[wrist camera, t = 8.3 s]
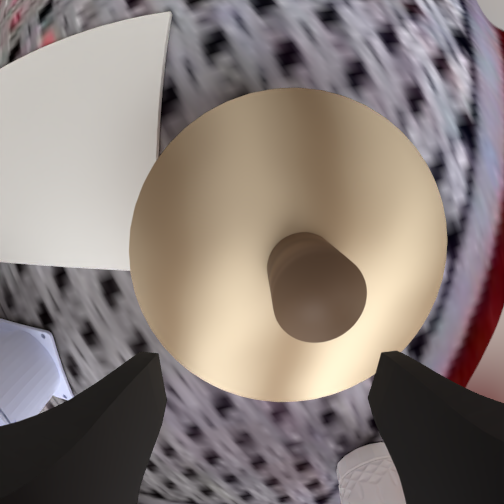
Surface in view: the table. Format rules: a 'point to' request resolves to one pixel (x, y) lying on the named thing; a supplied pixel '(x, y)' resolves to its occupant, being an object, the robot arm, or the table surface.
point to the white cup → (369, 477)
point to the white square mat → (80, 143)
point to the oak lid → (287, 244)
